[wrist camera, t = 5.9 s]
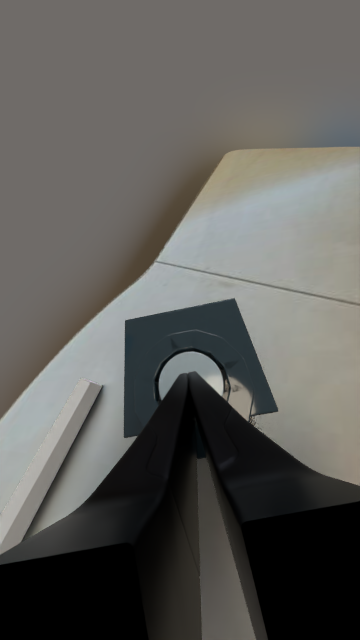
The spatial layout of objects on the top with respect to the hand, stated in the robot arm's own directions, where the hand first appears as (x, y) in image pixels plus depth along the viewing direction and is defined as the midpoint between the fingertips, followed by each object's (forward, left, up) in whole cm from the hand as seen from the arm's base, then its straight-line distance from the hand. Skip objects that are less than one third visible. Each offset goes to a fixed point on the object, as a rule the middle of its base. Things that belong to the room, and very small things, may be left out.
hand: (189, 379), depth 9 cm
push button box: (+2, +1, -9) cm, 9 cm away
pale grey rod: (-8, +12, -9) cm, 17 cm away
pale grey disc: (0, 0, -2) cm, 2 cm away
